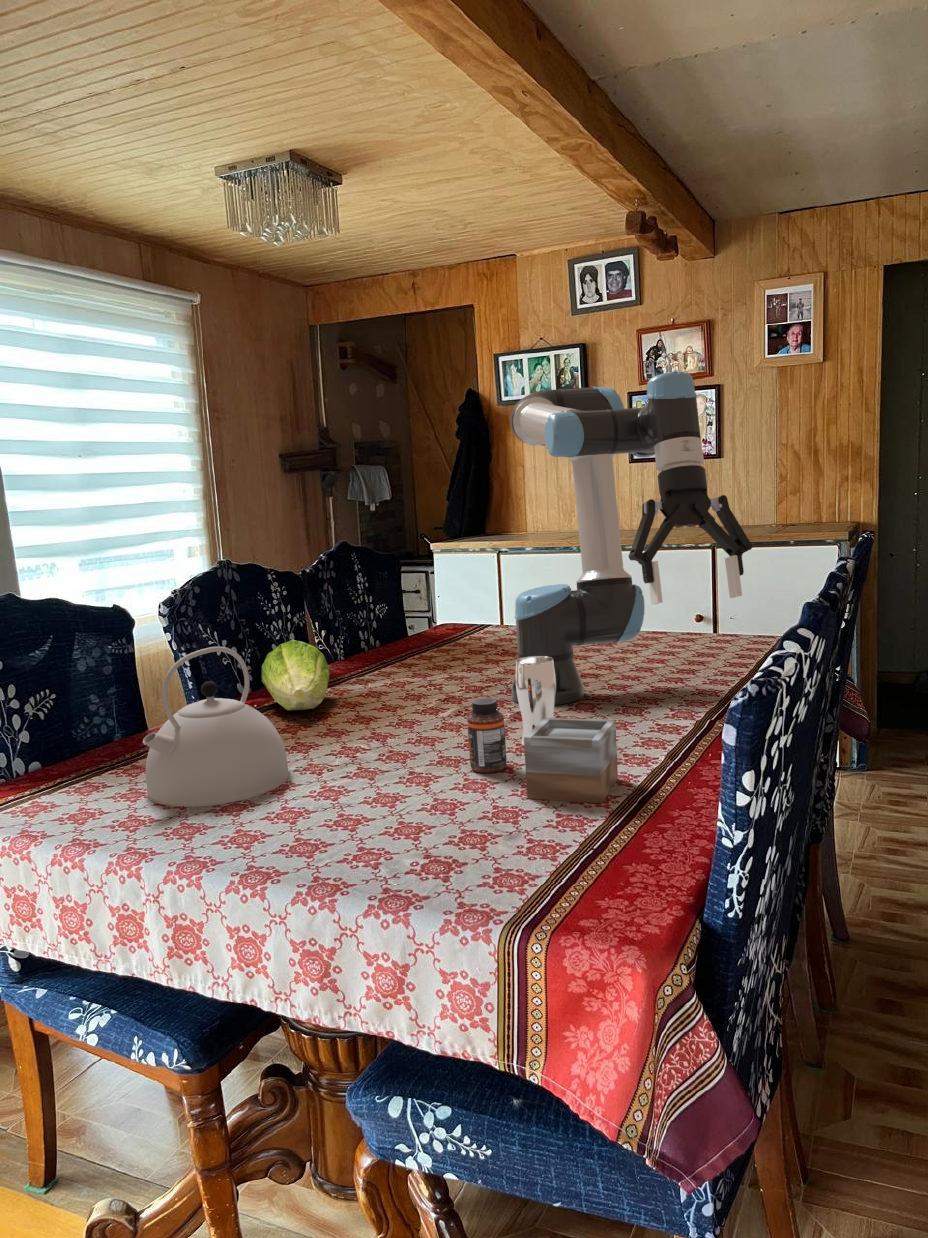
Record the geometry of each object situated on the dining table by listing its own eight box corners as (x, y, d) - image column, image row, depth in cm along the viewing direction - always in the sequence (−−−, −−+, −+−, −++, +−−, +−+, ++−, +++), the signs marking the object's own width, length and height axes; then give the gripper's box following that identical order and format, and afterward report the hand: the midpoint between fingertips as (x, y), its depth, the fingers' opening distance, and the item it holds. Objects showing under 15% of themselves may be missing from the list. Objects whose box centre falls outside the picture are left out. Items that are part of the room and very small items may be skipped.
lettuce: (341, 723, 192) (268, 738, 189) (332, 690, 215) (267, 703, 212) (329, 656, 188) (254, 670, 185) (321, 629, 211) (255, 641, 209)
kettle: (203, 821, 136) (187, 669, 133) (104, 801, 148) (87, 661, 145) (317, 770, 157) (305, 638, 154) (222, 756, 169) (209, 634, 166)
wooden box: (548, 774, 146) (545, 717, 145) (617, 778, 142) (615, 720, 141) (527, 798, 136) (523, 737, 135) (601, 803, 132) (598, 740, 131)
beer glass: (562, 738, 166) (558, 655, 164) (553, 749, 159) (549, 663, 157) (525, 737, 168) (520, 655, 166) (514, 748, 162) (509, 663, 160)
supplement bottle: (468, 764, 154) (464, 697, 153) (504, 761, 155) (500, 694, 153) (472, 775, 148) (467, 706, 147) (509, 772, 149) (505, 703, 147)
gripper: (616, 466, 144) (632, 603, 142) (763, 459, 149) (780, 590, 147) (599, 479, 151) (614, 609, 149) (740, 471, 156) (756, 597, 154)
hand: (696, 600), depth 148 cm, fingers open, 13 cm apart
